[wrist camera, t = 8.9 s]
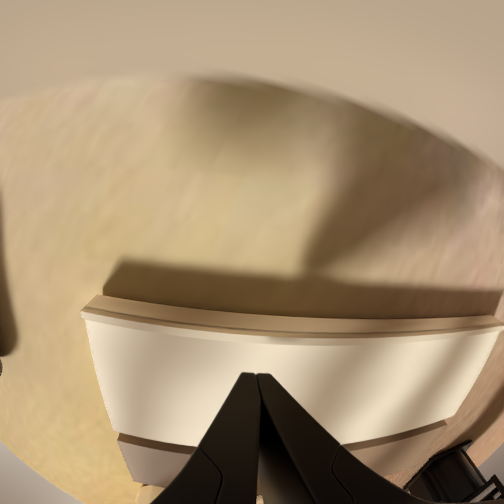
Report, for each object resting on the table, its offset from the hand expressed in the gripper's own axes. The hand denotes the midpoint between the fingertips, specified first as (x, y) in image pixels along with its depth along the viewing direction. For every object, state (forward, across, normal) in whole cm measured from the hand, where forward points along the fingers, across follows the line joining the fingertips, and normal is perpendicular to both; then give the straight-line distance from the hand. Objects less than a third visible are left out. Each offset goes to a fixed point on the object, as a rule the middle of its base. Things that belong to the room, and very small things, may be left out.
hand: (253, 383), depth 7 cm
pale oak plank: (+3, -4, +3) cm, 6 cm away
